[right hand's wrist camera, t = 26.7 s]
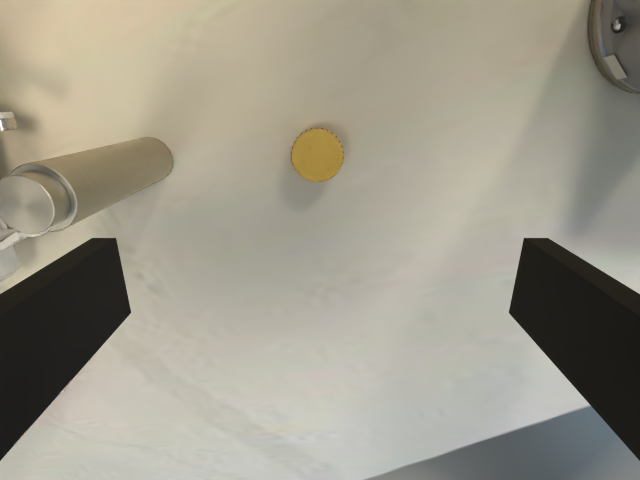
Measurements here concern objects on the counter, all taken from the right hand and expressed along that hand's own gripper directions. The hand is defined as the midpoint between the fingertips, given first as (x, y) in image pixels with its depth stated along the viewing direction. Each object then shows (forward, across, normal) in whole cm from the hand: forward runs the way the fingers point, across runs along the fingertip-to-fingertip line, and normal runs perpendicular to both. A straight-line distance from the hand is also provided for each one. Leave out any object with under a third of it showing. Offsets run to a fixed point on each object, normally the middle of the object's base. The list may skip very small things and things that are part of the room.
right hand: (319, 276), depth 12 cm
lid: (+28, 0, 0) cm, 28 cm away
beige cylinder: (+29, +18, 0) cm, 34 cm away
